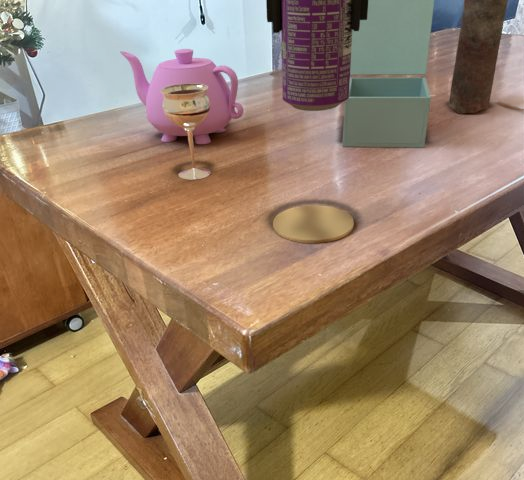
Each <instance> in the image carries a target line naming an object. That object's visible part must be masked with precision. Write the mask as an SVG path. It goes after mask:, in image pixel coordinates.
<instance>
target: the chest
mask: <svg viewBox="0 0 524 480" xmlns="http://www.w3.org/2000/svg"><path fill="white" fill-rule="evenodd" d="M431 101H432V95H431V92H430V89H429V84H428V81H427V78H426V76H400V77H399V76H394V77H393V76H392V77H391V76H390V77H389V76H386V77H385V76H383V77H381V76H380V77H375V76H373V77H371V76H370V77H369V76H368V77H365V76H364V77H362V76H361V77H350V85H349V98H348V99H347V100H346V101H344V106H343V107H344V109H343V110H344V111H343V128H342V129H343V130H342V147H353V148H355V147H357V148H414V149H415V148H419V149H420V148H423V149H424V148H425V144H426V139H427V138H426V136H427V130H428V124H429V123H428V122H429V115H430V109H431V108H430V107H431Z"/></svg>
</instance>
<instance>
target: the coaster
mask: <svg viewBox="0 0 524 480" xmlns="http://www.w3.org/2000/svg"><path fill="white" fill-rule="evenodd" d="M354 227H355V221H354V218H353V216H352V215H350V214H349V213H348V212H346V211H345V210H342V209H341V208H337V207H333V206H327V205H316V204H314V205H312V204H311V205H309V204H308V205H301V206H295V207H291V208H287V209H286V210H283V211H281V212H279V213H278V214H277V215H276V216H275V217H274V219H273V220H272V228H273V231H274V232H275V233H276V234H277V235H278V236H279V237H281V238H284V239H286V240H288V241H292V242H297V243H302V244H303V243H304V244H321V243H329V242H334V241H338V240H340V239H343V238H344V237H346V236H348V235H350V234H351V232H352V231H353V229H354Z"/></svg>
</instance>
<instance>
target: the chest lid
mask: <svg viewBox="0 0 524 480" xmlns="http://www.w3.org/2000/svg"><path fill="white" fill-rule="evenodd" d="M434 7H435V0H368V14H367V20H360V28H359V31H354V30H352V47H351V66H350V76H395V75H396V76H413V75H414V76H417V75H419V76H421V75H422V76H423V75H424V76H425V75H427V71H428V61H429V53H430V43H431V36H432V35H431V34H432V25H433V15H434V9H435V8H434Z"/></svg>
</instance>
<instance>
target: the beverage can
mask: <svg viewBox="0 0 524 480" xmlns="http://www.w3.org/2000/svg"><path fill="white" fill-rule="evenodd" d="M352 11H353V0H281V31H280V33H281V78H282V79H281V82H282V83H281V85H282V87H281V89H282V101H283V102H284V103H286V104H288V105H290V106H291V107H292V108H294V109H295V110H296V109H297V110H300V111H306V112H318V111H322V112H323V111H328V110H332V109H335V108H337V107H338V106H339V105H341V104H343V103H345V101H346V100H347V99H348V98H349V85H350V78H351V75H350V66H351V47H352Z"/></svg>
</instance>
